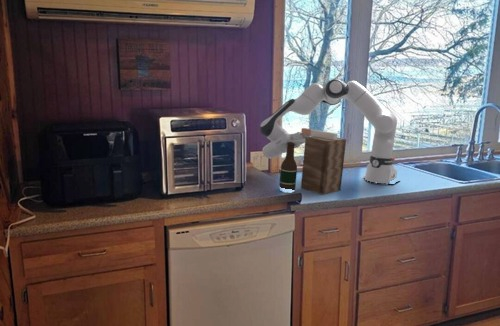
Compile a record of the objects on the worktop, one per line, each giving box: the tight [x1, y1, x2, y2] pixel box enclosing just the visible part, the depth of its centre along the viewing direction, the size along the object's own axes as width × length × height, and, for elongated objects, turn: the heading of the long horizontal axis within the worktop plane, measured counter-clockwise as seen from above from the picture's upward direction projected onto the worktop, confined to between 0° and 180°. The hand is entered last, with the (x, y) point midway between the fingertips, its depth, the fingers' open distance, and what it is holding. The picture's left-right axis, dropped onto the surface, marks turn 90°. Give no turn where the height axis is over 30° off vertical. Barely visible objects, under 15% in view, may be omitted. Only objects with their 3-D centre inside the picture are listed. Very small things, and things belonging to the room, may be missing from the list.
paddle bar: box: [300, 127, 338, 140], centre depth 227 cm, size 2×20×3 cm, turn 46°
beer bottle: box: [278, 142, 298, 191], centre depth 218 cm, size 8×8×24 cm
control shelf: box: [300, 136, 347, 195], centre depth 227 cm, size 16×13×26 cm
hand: (305, 132), depth 232 cm, fingers open, 8 cm apart
